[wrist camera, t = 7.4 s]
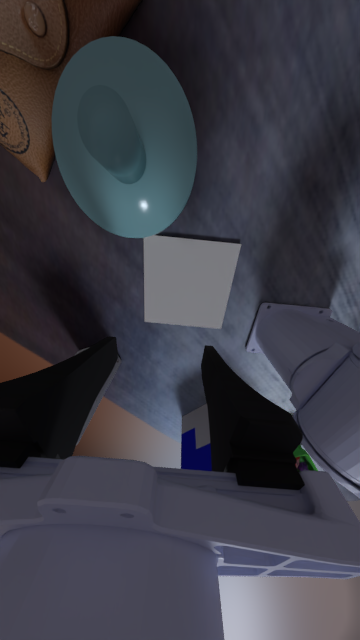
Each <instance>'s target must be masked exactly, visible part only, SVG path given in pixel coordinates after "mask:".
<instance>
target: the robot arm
mask: <svg viewBox="0 0 360 640" xmlns="http://www.w3.org/2000/svg"><path fill="white" fill-rule="evenodd" d="M268 305H270V306H269V307H268V308H267V306H268ZM319 311H320V312H319ZM331 314H332V310H331V309H328V308H319V307H308V306H298V305H287V304H277V303H267V302H264V303H262V304H261V305H260V308H259V311H258V314H257V317H256V320H255V322H254V325H253V328H252V331H251V334H250V337H249V340H248V343H247V346H246V351H247V352H253V353H264V354H265V356H266V357H267V358H268V360H269V361H270V362H271V364H272V365H273V367H274V368H275V369H276V371H277V372H278V374H279V375H280V376H281V378H282V379H283V381H284V382H285V383H286V385H287V386H288V388H289V389H290V390H291V392H292V396H291V398H290V401H291V402H292V404H293V405H294V407H295V408H296V410H297V411H296V412H295V413H294V415H293V417H292V415H291V414H290V413H289V412H287V411H285V410H284V409H282V408H280V407H279V406H277V405H275V404H274V403H272V402H271V401H269V400H268V399H266V398H265V397H263V396H262V395H260V394H259V393H258V392H256V391H255V390H254V389H253V388H251V387H250V386H249V385H248V384H246V383H245V382H244V381H243V380H242V379H241V378H240V377H239V376H237V375H236V374H235V373H234V371H233V370H232V369H231V368H230V367H229V366H228V365H227V364H226V363H225V361H224V360H223V359H222V358H221V356H220V355H219V354H218V353H217V351H216V350H215V349H214V347H213V346H206V345H205V348H204V353H203V359H202V364H201V370H202V380H203V385H204V391H205V396H206V401H207V408H208V418H209V431H210V446H211V465H212V471H201V470H188V469H176V468H163V467H152V466H151V465H149V464H147V463H145V462H140V461H136V460H126V459H113V458H101V457H89V456H72V454H73V452H74V449H75V446H76V444H77V441H78V439H79V436H80V434H81V431H82V429H83V427H84V424H85V422H86V420H87V417H88V415H89V413H90V411H91V408H92V406H93V404H94V402H95V400H96V398H97V396H98V394H99V392H100V391H101V389H102V387H103V386H104V384H105V382H106V381H107V379H108V377H109V375H110V374H111V372H112V370H113V368H114V366H115V364H116V361H117V359H118V353H117V344H116V337H106V338H105V339H103V340H101V341H99V342H98V343H96V344H94V345H93V346H91V347H89V348H88V349H86V350H84V351H82V352H80V353H78V354H77V355H75V356H73V357H71V358H69V359H67V360H65V361H62V362H60V363H58V364H56V365H53V366H51V367H48V368H46V369H43V370H40V371H38V372H35V373H32V374H29V375H26V376H23V377H20V378H16V379H13V380H9V381H6V382H2V383H0V640H224V633H223V622H222V613H221V602H220V593H219V582H218V576H262V577H266V576H267V577H313V578H333V579H349V578H353V577H357V576H360V522H359V520H358V519H357V517H356V515H355V514H354V512H353V511H352V509H351V507H350V506H349V504H348V503H347V501H346V499H345V498H344V496H343V495H342V493H341V491H340V490H339V488H338V487H337V485H336V484H335V482H334V480H336V481H337V482H338V483H340V484H341V485H342V486H344V487H345V488H347V489H348V490H349V491H351V492H352V493H354V494H355V495H356V496H357V497H359V498H360V332H358V331H356V330H354V329H352V328H350V327H348V326H346V325H344V324H342V323H340V322H338V321H336V320H334V319H332V318H330V315H331ZM252 349H253V350H252ZM300 443H301V444H302V445H303V447H304V448H305V449H306V451H307V452H308V453H309V455H310V456H311V457H312V458H313V459H314V461H315V462H316V463H317V464H318V465H319V466H320V467H321V468H322V469H323V470H324V471H325V472H323V471H310V470H303V471H300V472H298V470H297V468H296V466H295V464H296V463H297V460H296V458H295V456H294V454H293V452H294V451H295V449H296V448H297V447H298V446H299V445H300ZM332 478H333V479H334V480H333V479H332Z"/></svg>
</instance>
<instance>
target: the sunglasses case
mask: <svg viewBox="0 0 360 640" xmlns="http://www.w3.org/2000/svg"><path fill="white" fill-rule="evenodd" d="M141 1H142V0H0V145H2V146H3V147H4V148H5V149H7V150H8V151H9V152H10V153H11V154H12V155H14V156H15V157H16V158H17V159H18V160H19V161H20V162H21V163H23V164H24V165H25V166H26V167H27V168H28V169H29V170H30V171H32V172H33V173H34V174H36V175H37V176H38V177H39V178H40V179H41V181H42V182H45V181H46V180H47V178H48V176H49V174H50V171H51V168H52V165H53V162H54V159H55V156H56V155H55V151H54V146H53V138H52V107H53V101H54V95H55V91H56V88H57V85H58V82H59V79H60V77H61V74H62V72H63V70H64V68H65V67H66V65H67V64H68V62H69V61H70V59H71V58H72V57H73V56H74V55H75V54H76V53H77V52H78V51H79V50H80V49H81V48H82V47H83V46H85V45H87V44H88V43H90V42H91V41H94V40H97V39H99V38H103V37H110V36H116V37H119V35H120V33H121V31H122V30H123V28H124V27H125V25H126V24H127V23H128V21H129V20H130V18H131V17H132V15H133V13H134V12H135V11H136V9H137V7H138V6H139V4H140V3H141Z"/></svg>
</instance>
